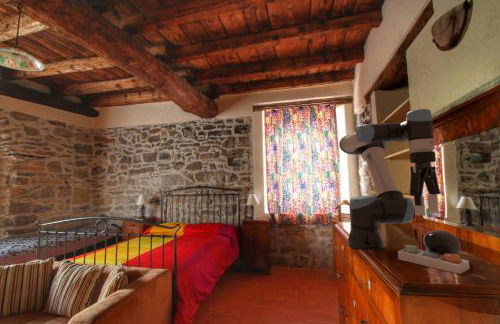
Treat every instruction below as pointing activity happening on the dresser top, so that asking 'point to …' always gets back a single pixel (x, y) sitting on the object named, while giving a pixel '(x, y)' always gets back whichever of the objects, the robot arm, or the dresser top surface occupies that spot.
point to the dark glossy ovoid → (442, 242)
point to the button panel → (433, 261)
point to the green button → (411, 249)
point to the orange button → (452, 258)
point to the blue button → (430, 254)
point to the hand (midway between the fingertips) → (427, 213)
